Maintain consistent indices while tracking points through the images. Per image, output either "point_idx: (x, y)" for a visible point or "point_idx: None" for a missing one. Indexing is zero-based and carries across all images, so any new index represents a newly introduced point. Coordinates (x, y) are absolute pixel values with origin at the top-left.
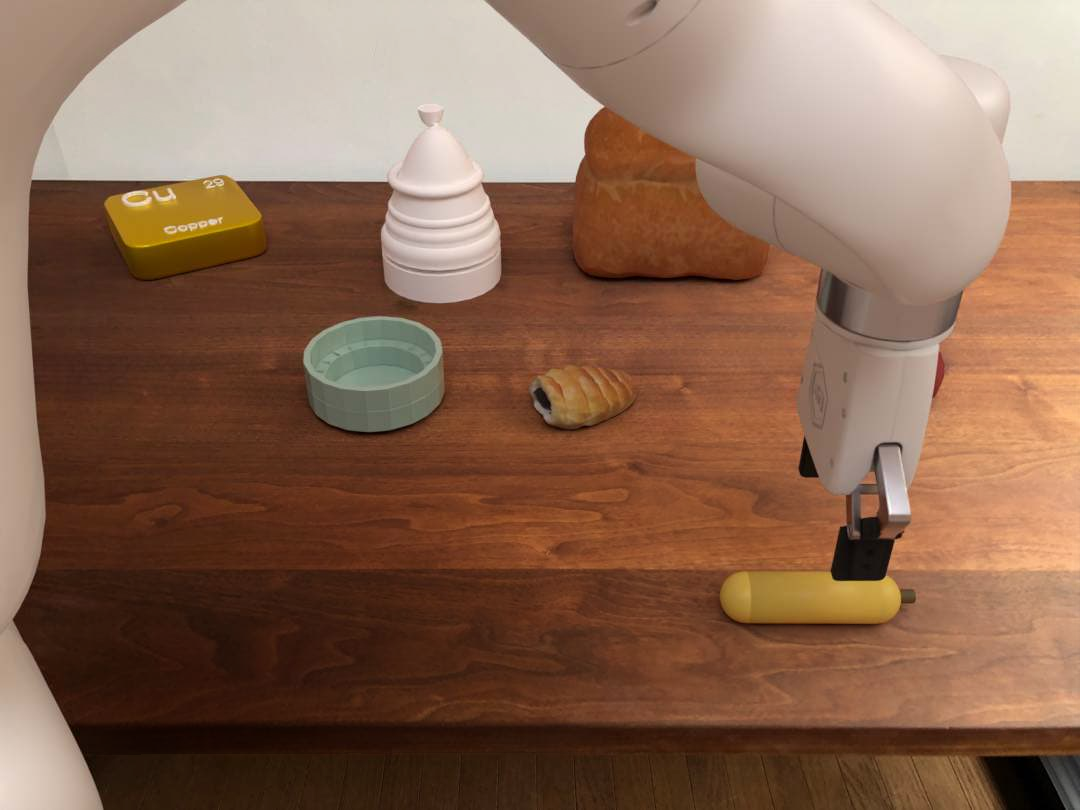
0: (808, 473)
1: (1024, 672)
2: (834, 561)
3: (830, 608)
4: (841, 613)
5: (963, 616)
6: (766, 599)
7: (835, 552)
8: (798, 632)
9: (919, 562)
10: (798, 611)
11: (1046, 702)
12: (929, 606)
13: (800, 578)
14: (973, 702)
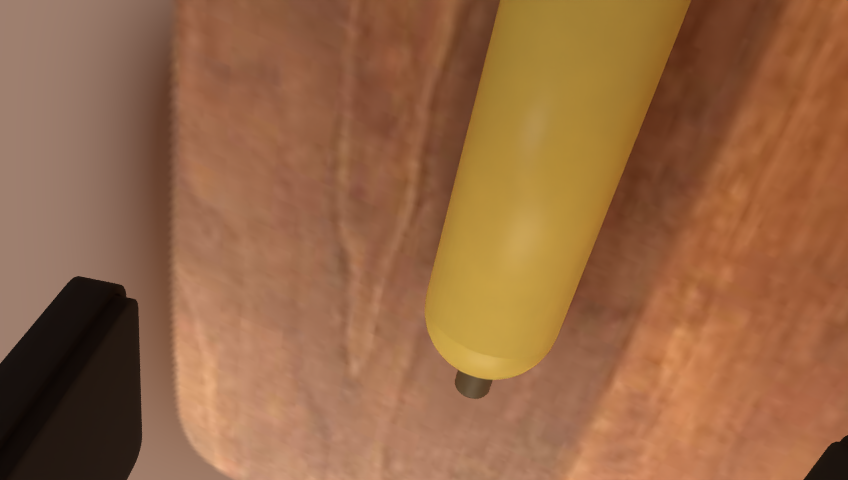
0: (835, 475)
1: (288, 446)
2: (33, 346)
3: (459, 196)
4: (447, 215)
5: (443, 427)
6: (524, 16)
7: (19, 389)
8: None
9: (615, 427)
10: (476, 104)
11: (217, 442)
12: None
13: (560, 162)
14: (221, 343)
